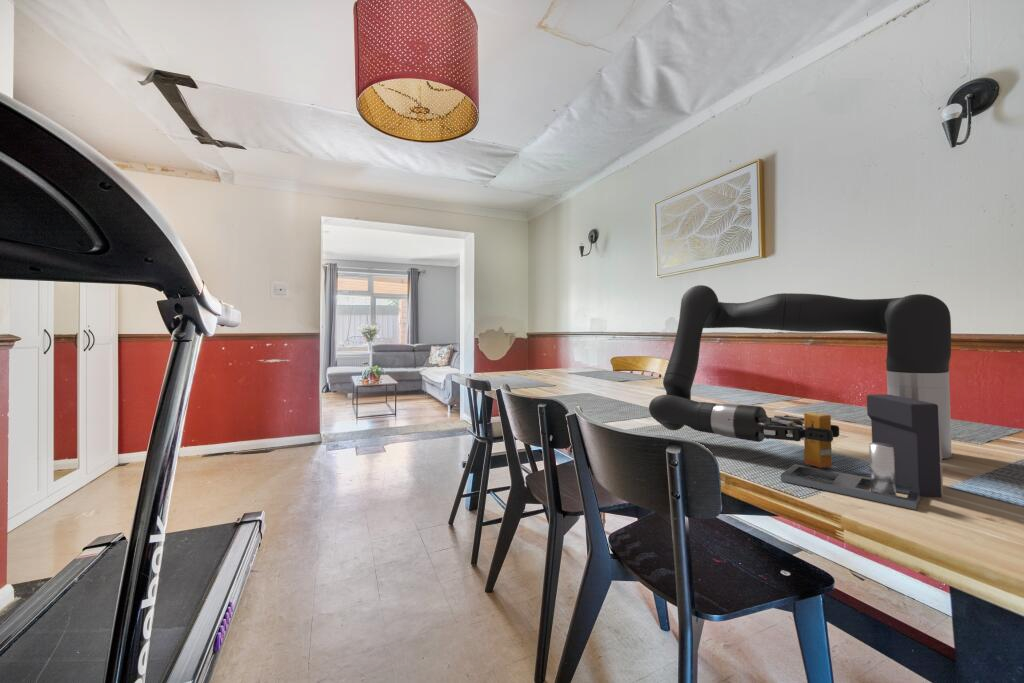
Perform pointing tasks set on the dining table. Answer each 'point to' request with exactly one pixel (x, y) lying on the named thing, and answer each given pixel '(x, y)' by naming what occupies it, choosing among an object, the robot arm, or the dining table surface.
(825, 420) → the supplement box
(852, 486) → the hole plate
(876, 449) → the steel pin
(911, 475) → the black coffee maker
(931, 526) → the dining table surface
